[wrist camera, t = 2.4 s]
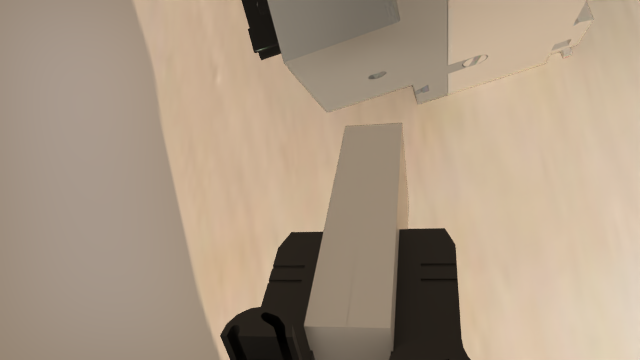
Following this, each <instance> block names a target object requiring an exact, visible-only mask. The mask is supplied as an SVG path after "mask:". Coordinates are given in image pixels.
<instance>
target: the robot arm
mask: <svg viewBox="0 0 640 360" xmlns="http://www.w3.org/2000/svg"><path fill="white" fill-rule="evenodd" d="M408 210H409V201H408V188H407V176H406V164H405V151H404V139H403V127H402V123H391V124H374V125H357V126H346V127H345V131H344V136H343V141H342V146H341V150H340V155H339V160H338V165H337V170H336V174H335V179H334V184H333V189H332V194H331V198H330V203H329V208H328V213H327V218H326V222H325V227H324V232H291V233H290V235H289V236H288V237H287V238H286V239H285V241H284V242H283V243H282V244H281V245H280V247H279V248H278V251H277V254H276V258H275V261H274V265H273V269H272V271H271V275H270V278H269V283H268V285H267V288H266V292H265V295H264V299H263V302H262V306H261V307H257V308H250V309H248V310H246V311H244V312H242V313H240V314H238V315H236V316H235V317H234V318H233V319H232V320H231V321H230V322H228V323H227V324H226V326H225V328H224V330H223V331H222V333H221V335H220V336H221V339H222V341H223V343H224V346H225V348H226V351H227V353H228V355H229V358H230V360H470V358H469V357H468V356H467V354H466V352H465V350H464V348H463V344H462V339H461V326H460V310H459V294H458V279H457V263H456V248H455V243H454V242H453V240H452V239H451V237H450V236H449V234H448V233H447V231H446V230H445V228H441V229H408Z"/></svg>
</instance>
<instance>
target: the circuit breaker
mask: <svg viewBox="0 0 640 360" xmlns="http://www.w3.org/2000/svg"><path fill="white" fill-rule="evenodd" d="M242 3H243V7H244V10H245V14H246V17H247V21H248V24H249V29H248V31H249V35H250V39H251V43H252V46H253V50H254V52H255V53H257V52H258V53H259V56H260V58H261V60H263V59H266V58H269V57H272V56H275V55H278V54H282V58H283V61H284V64H285V65H286V66H287V67H288V68H289V70H290V71H291V72H292V74H293V75H294V76H295V77H296V78H297V79H298V80H299V82H300V83H301V84H302V85H303V86H304V87H305V88H306V90H307V91H308V92H309V93H310V94H311V95H312V96H313V98H314V99H315V100H316V101H317V102H318V103H319V104H320V106H321V107H322V108H323V109H324V110H325V111H326V112H332V111H335V110H338V109H341V108H344V107H347V106H350V105H353V104H356V103H359V102H362V101H365V100H369V99H372V98H375V97H378V96H381V95H384V94H387V93H390V92H393V91H396V90H399V89H402V88H405V87H408V86H412V87H413V90H414V93H415V97H416V100H417V103H418V104H422V103H425V102H428V101H431V100H434V99H437V98H440V97H443V96H447V95H450V94H453V93H456V92H459V91H462V90H465V89H468V88H471V87H475V86H478V85H481V84H484V83H487V82H490V81H493V80H496V79H499V78H503V77H506V76H509V75H512V74H515V73H518V72H521V71H524V70H527V69H531V68H534V67H537V66H540V65H543V64H545V63H546V61H547V59H548V57H549V55H551V54H554V53H557V52H561V55H562V58H565V57H568V56H571V55H572V53H573V52H572V50H571V47H572V46H575V45H578V44H579V42H580V40H581V39H582V37H583V36H584V34H585V33H586V31H587V29H588V28H589V26H590V25H591V23H592V21H593V20H594V19H593V16H592V14H591V11H590V8H589V6H588V3H587V0H242Z"/></svg>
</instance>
